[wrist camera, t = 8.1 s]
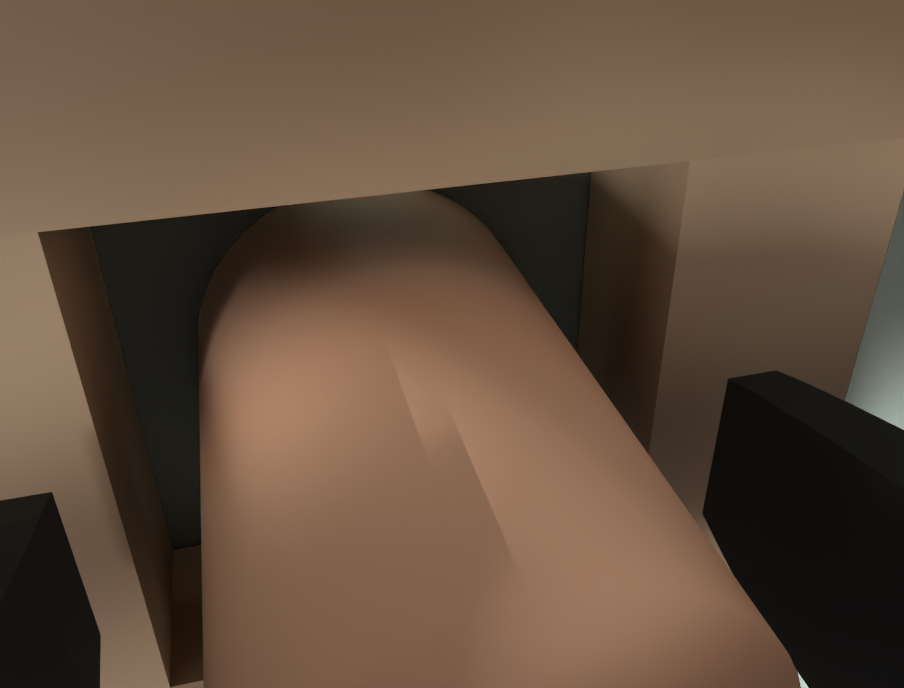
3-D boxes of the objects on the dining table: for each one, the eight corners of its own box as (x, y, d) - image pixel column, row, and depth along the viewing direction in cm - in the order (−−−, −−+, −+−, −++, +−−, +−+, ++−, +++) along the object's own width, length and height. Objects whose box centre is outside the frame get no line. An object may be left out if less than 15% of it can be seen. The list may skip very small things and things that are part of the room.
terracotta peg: (516, 432, 14) (750, 884, 8) (228, 485, 13) (258, 1035, 7) (522, 161, 11) (861, 530, 6) (167, 203, 10) (139, 691, 5)
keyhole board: (696, 562, 17) (768, 670, 15) (25, 706, 14) (-2, 861, 12) (837, -163, 10) (1001, -155, 8) (-341, -133, 8) (-534, -110, 6)
